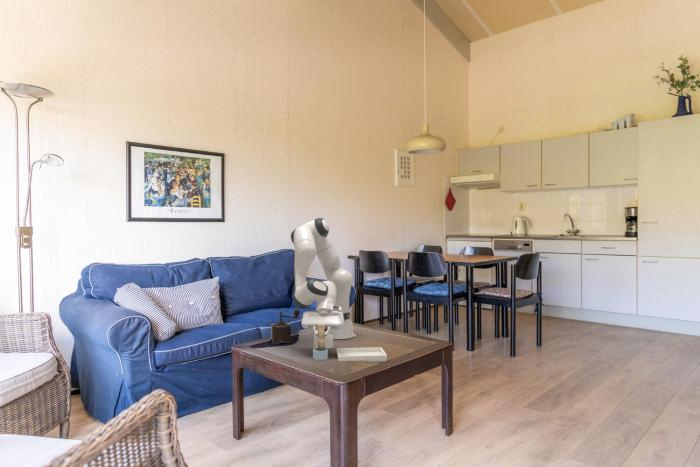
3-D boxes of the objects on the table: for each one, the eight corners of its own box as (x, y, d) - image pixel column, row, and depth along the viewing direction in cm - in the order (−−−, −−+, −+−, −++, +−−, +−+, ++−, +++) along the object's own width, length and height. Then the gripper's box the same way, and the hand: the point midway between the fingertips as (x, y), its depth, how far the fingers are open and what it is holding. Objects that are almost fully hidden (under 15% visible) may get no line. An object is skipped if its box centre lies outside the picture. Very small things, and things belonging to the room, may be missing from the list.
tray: (336, 354, 222) (336, 348, 222) (381, 353, 224) (381, 347, 224) (338, 363, 206) (338, 356, 206) (387, 362, 208) (387, 355, 208)
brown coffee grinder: (271, 345, 242) (271, 310, 243) (270, 340, 253) (270, 307, 253) (301, 343, 246) (301, 309, 246) (298, 339, 257) (298, 306, 257)
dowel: (317, 350, 213) (317, 324, 213) (324, 349, 213) (324, 324, 213) (318, 351, 210) (317, 325, 210) (325, 351, 210) (324, 325, 210)
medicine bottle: (324, 347, 237) (324, 323, 238) (333, 349, 232) (333, 325, 232) (313, 349, 232) (313, 325, 233) (322, 351, 227) (322, 327, 227)
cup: (312, 358, 214) (312, 347, 214) (327, 358, 215) (327, 347, 215) (313, 362, 208) (313, 351, 208) (328, 362, 208) (328, 350, 208)
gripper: (302, 306, 220) (297, 331, 210) (344, 307, 217) (341, 332, 207) (305, 314, 224) (300, 338, 215) (346, 315, 221) (343, 339, 212)
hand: (321, 335), depth 211 cm, fingers closed on dowel, 3 cm apart
